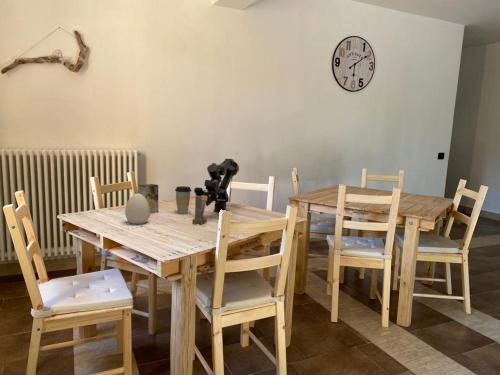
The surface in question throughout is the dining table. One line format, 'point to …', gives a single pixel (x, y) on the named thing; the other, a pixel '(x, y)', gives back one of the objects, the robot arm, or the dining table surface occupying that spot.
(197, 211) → the stand
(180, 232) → the dining table surface
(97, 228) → the dining table surface
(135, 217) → the decorative egg
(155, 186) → the coffee box
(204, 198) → the block
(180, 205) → the coffee cup
